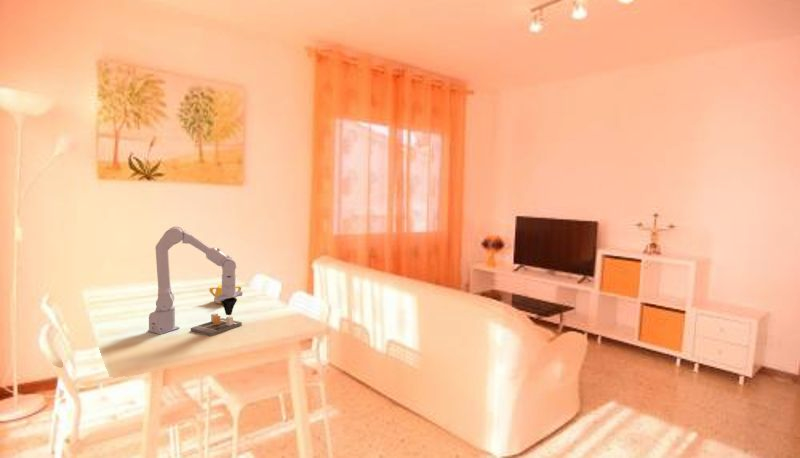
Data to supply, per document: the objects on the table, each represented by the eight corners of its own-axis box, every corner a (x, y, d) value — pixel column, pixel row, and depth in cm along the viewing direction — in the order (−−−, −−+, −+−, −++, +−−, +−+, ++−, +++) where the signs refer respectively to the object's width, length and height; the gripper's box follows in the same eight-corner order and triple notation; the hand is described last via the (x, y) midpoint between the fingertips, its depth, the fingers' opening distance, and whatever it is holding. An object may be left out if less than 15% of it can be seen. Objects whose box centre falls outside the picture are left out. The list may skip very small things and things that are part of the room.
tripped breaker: (216, 325, 191) (216, 317, 191) (213, 324, 192) (213, 316, 192) (220, 323, 193) (220, 316, 193) (217, 323, 194) (217, 315, 194)
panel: (211, 336, 183) (211, 324, 182) (190, 331, 188) (190, 319, 187) (241, 325, 198) (241, 314, 198) (222, 321, 203) (222, 310, 203)
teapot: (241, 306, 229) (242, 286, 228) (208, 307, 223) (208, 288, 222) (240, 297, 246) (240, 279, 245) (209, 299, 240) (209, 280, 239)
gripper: (222, 289, 189) (222, 320, 190) (247, 283, 202) (247, 312, 203) (210, 287, 192) (210, 317, 193) (235, 281, 205) (235, 309, 206)
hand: (228, 314), depth 198 cm, fingers closed
